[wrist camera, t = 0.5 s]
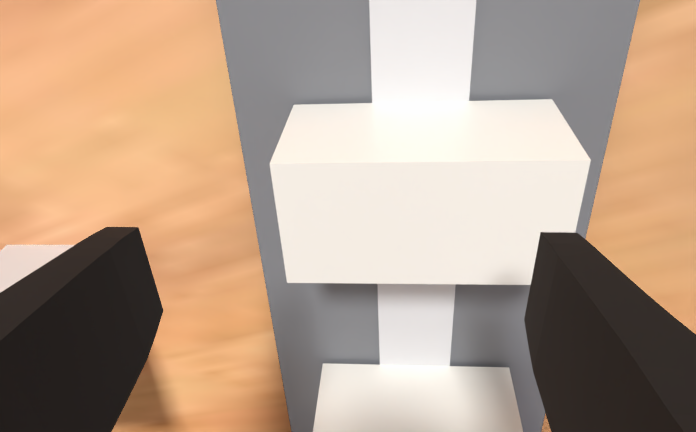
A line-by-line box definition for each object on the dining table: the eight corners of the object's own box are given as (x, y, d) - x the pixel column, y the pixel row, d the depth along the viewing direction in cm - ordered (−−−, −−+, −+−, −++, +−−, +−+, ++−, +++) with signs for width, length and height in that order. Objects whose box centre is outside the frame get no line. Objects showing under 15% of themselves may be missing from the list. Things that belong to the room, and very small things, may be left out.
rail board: (525, 466, 29) (529, 488, 28) (301, 458, 30) (298, 478, 29) (646, -96, 15) (664, -92, 14) (213, -73, 16) (201, -68, 15)
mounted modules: (499, 426, 25) (515, 512, 22) (329, 420, 26) (319, 503, 23) (552, 99, 17) (590, 160, 13) (293, 104, 17) (269, 163, 14)
